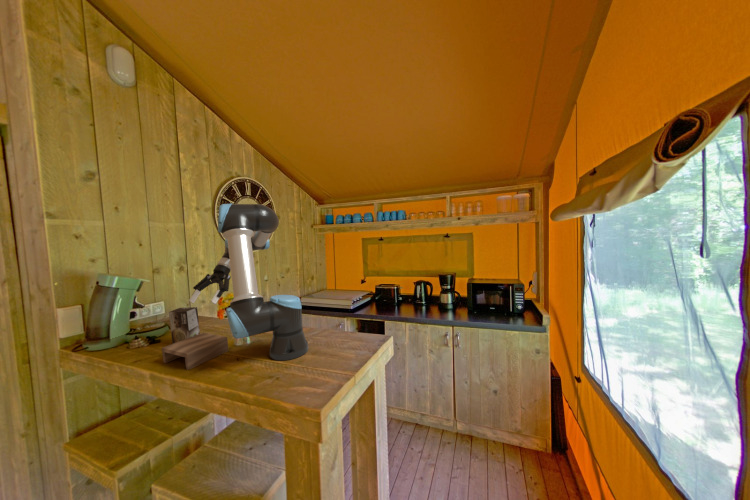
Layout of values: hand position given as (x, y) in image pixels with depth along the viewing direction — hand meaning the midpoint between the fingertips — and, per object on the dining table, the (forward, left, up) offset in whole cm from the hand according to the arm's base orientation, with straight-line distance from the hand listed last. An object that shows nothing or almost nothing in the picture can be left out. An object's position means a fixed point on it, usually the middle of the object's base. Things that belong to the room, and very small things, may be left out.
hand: (201, 302), depth 129 cm
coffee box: (-2, +10, -17) cm, 19 cm away
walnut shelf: (-21, +17, -16) cm, 31 cm away
